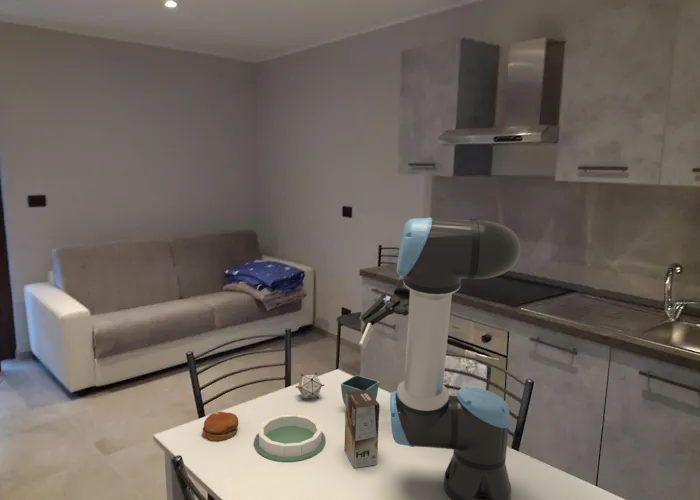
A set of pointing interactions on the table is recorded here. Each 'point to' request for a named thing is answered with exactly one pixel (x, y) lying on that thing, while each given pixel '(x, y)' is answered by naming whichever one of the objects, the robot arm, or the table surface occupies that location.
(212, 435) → the burger
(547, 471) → the table surface
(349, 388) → the flower pot
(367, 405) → the coffee box
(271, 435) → the round green tray
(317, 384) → the game die
